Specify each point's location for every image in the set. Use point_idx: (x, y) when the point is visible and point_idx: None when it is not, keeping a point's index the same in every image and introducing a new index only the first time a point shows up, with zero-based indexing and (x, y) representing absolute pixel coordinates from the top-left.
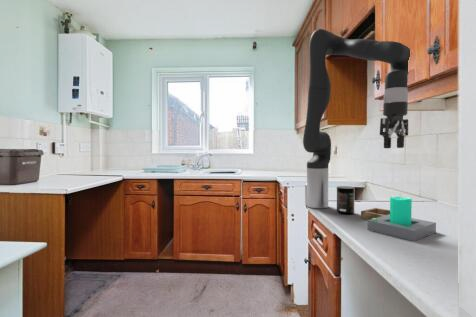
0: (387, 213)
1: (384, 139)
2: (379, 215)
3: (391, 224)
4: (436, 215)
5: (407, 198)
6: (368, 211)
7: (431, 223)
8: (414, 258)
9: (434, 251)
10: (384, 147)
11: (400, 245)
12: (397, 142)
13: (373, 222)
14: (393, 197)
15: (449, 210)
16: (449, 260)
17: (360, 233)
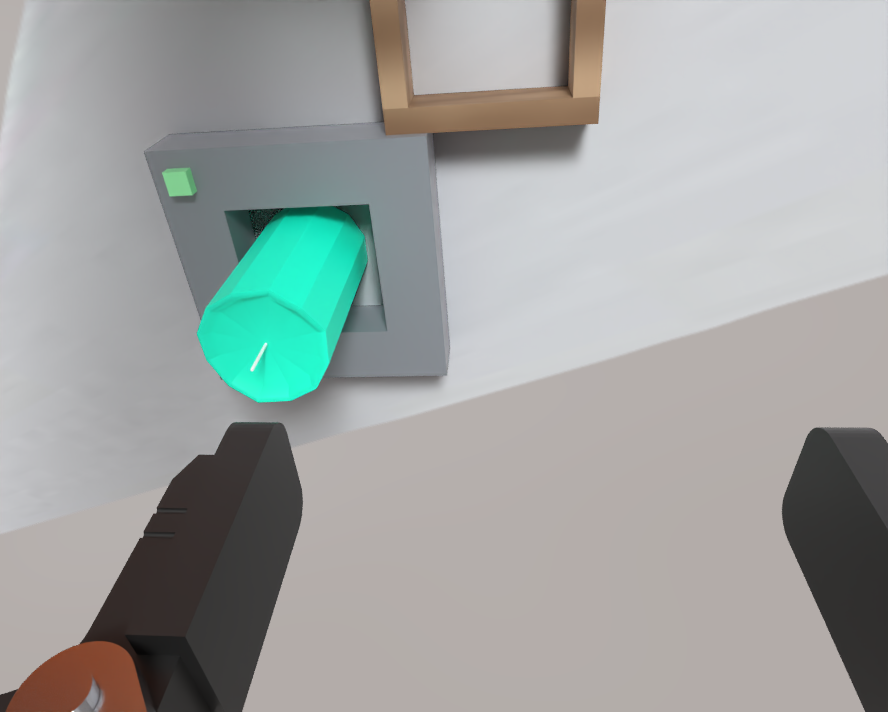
0: (574, 7)
1: (111, 611)
2: (378, 71)
3: (207, 277)
4: None
5: (319, 362)
6: None
7: (411, 370)
8: (87, 422)
9: (206, 429)
10: (235, 436)
11: (141, 347)
12: (872, 535)
13: (159, 188)
14: (268, 294)
15: None
16: None
17: (82, 157)
